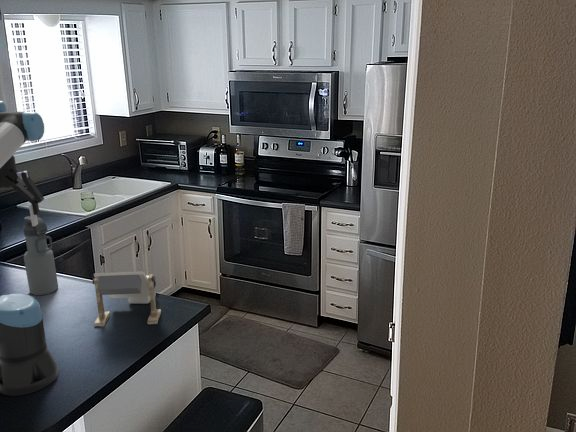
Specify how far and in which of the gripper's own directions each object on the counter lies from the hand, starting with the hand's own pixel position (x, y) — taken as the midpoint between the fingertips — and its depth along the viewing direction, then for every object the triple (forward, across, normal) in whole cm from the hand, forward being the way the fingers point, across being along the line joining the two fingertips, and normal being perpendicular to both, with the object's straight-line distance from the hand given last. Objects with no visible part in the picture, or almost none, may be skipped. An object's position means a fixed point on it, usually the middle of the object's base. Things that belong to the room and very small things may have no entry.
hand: (11, 225), depth 163 cm
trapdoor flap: (+27, -30, -3) cm, 40 cm away
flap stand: (+35, -30, -4) cm, 46 cm away
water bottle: (+35, +6, -30) cm, 46 cm away
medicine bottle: (+31, -31, -14) cm, 46 cm away
